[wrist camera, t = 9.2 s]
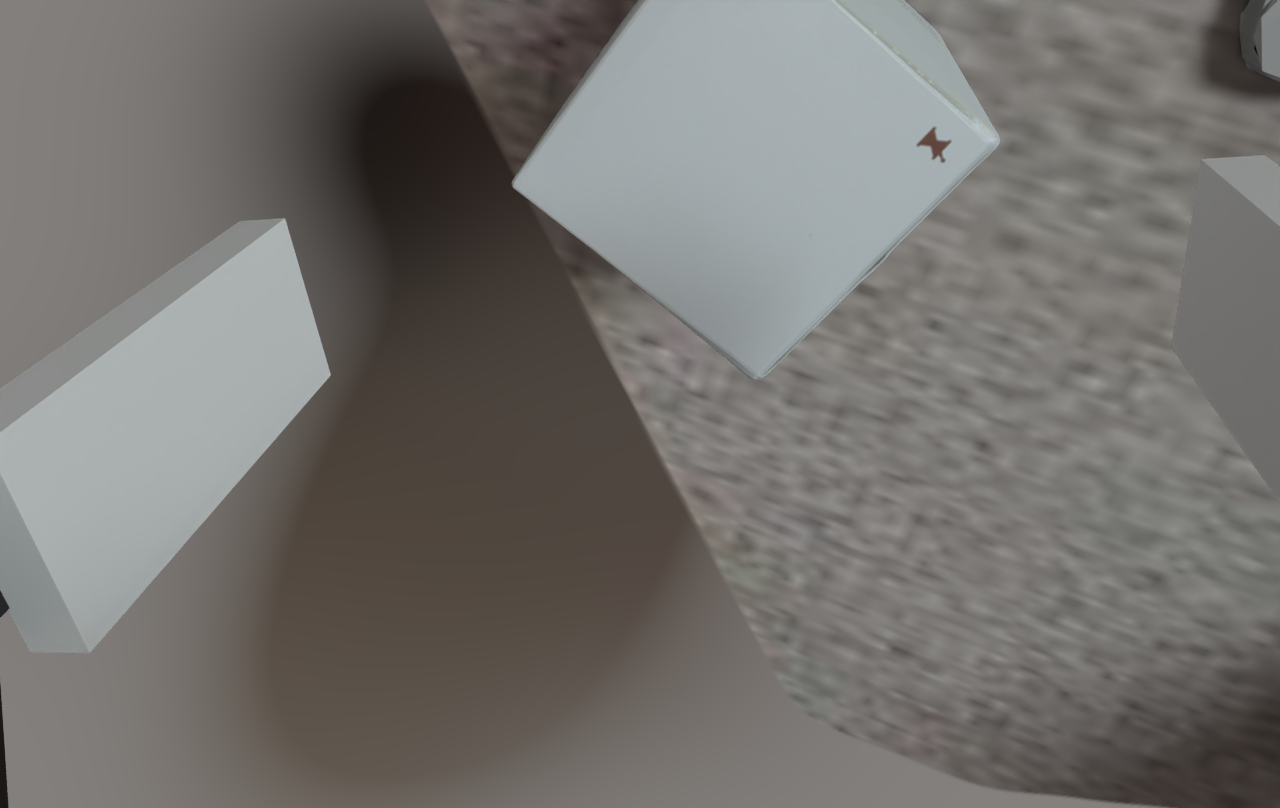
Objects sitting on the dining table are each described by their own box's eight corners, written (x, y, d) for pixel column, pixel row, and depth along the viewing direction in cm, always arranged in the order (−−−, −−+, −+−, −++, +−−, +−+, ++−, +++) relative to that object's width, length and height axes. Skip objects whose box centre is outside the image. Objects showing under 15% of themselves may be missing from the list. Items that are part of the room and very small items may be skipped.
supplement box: (759, -140, 29) (725, -124, 18) (944, 34, 30) (1018, 147, 19) (604, 65, 32) (497, 184, 21) (778, 213, 34) (761, 394, 23)
